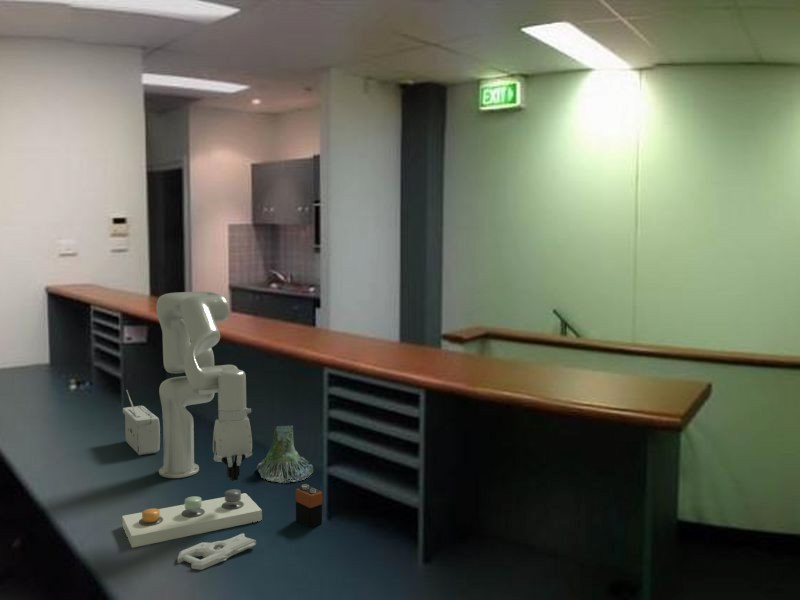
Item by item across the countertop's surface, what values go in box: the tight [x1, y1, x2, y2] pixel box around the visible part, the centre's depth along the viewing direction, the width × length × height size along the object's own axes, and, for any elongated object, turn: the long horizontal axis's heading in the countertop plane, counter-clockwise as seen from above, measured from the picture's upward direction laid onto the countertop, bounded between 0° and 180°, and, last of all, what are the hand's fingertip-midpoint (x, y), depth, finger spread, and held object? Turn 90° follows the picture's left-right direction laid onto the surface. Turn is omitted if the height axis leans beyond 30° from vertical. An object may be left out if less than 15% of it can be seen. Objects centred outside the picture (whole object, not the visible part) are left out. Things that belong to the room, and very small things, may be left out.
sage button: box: [184, 495, 202, 510], centre depth 187 cm, size 4×4×2 cm
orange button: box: [141, 507, 160, 523], centre depth 182 cm, size 4×4×2 cm
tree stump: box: [256, 425, 314, 484], centre depth 229 cm, size 18×20×18 cm
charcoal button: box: [224, 488, 242, 502], centre depth 193 cm, size 4×4×2 cm
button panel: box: [121, 492, 263, 549], centre depth 187 cm, size 14×34×3 cm, turn 121°
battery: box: [295, 483, 323, 528], centre depth 190 cm, size 4×7×10 cm, turn 46°
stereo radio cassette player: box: [122, 389, 161, 456], centre depth 250 cm, size 21×8×20 cm, turn 35°
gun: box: [176, 532, 257, 571], centre depth 170 cm, size 18×4×10 cm
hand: (233, 479), depth 192 cm, fingers closed
